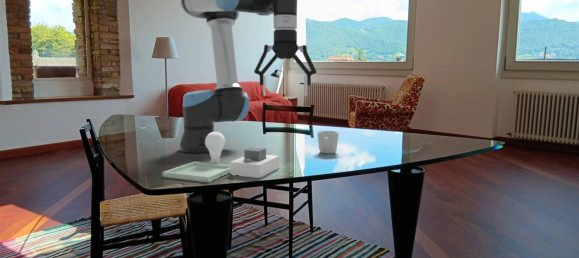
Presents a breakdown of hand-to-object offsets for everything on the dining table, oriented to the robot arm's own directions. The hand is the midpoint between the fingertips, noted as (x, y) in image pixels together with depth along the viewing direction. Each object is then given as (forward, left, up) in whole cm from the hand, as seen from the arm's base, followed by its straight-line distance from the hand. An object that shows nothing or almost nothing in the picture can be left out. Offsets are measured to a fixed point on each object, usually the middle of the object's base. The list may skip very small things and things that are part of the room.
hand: (285, 95), depth 139 cm
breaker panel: (-4, -13, -23) cm, 27 cm away
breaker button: (-4, -13, -20) cm, 24 cm away
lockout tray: (-18, -22, -23) cm, 37 cm away
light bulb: (-21, -9, -23) cm, 33 cm away
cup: (+8, +24, -23) cm, 34 cm away
